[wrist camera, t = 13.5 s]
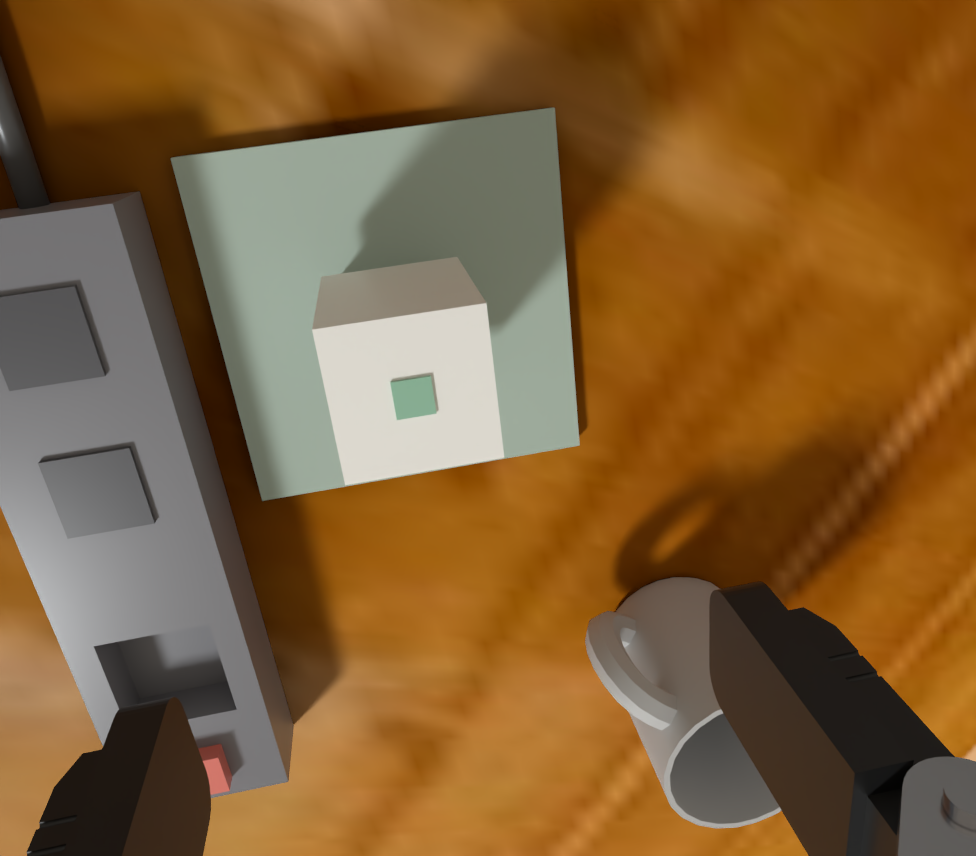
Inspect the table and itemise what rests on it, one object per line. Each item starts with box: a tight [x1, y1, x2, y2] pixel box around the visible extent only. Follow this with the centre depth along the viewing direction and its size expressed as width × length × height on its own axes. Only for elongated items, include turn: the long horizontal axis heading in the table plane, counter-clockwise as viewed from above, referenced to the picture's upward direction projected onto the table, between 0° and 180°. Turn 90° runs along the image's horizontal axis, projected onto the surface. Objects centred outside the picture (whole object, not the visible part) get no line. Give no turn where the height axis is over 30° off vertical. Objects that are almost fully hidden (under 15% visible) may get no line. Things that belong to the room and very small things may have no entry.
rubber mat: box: [170, 108, 580, 501], centre depth 31 cm, size 14×14×1 cm
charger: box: [312, 257, 504, 485], centre depth 27 cm, size 5×5×9 cm
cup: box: [585, 577, 781, 828], centre depth 36 cm, size 7×10×9 cm
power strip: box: [0, 56, 294, 798], centre depth 30 cm, size 34×7×4 cm, turn 7°
